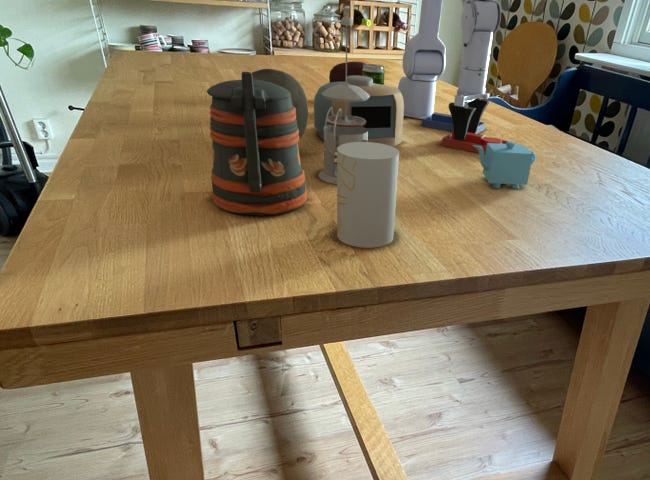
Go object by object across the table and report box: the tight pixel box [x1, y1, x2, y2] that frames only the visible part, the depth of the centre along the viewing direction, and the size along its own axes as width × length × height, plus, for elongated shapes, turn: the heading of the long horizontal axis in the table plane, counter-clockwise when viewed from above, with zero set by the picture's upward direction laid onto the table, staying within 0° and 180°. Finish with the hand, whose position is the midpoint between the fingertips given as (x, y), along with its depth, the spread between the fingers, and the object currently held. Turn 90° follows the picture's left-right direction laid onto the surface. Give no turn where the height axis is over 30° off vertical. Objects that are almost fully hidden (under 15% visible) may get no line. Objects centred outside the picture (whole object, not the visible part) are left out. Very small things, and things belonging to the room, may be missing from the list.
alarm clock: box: [313, 76, 404, 148], centre depth 121 cm, size 19×20×12 cm
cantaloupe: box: [251, 68, 309, 141], centre depth 105 cm, size 14×14×15 cm
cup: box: [336, 142, 400, 249], centre depth 76 cm, size 8×8×12 cm
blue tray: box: [421, 115, 487, 134], centre depth 137 cm, size 14×8×2 cm, turn 64°
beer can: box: [362, 63, 385, 85], centre depth 136 cm, size 5×5×12 cm
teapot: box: [472, 140, 536, 189], centre depth 101 cm, size 12×6×8 cm, turn 94°
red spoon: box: [451, 131, 503, 146], centre depth 123 cm, size 11×4×2 cm, turn 64°
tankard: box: [206, 71, 308, 217], centre depth 80 cm, size 19×15×20 cm
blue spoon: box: [432, 111, 453, 124], centre depth 137 cm, size 11×4×2 cm, turn 64°
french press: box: [318, 15, 370, 185], centre depth 93 cm, size 10×12×25 cm
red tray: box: [441, 132, 508, 155], centre depth 124 cm, size 14×8×2 cm, turn 64°
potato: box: [328, 61, 366, 83], centre depth 151 cm, size 11×13×10 cm
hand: (465, 136), depth 124 cm, fingers open, 7 cm apart
